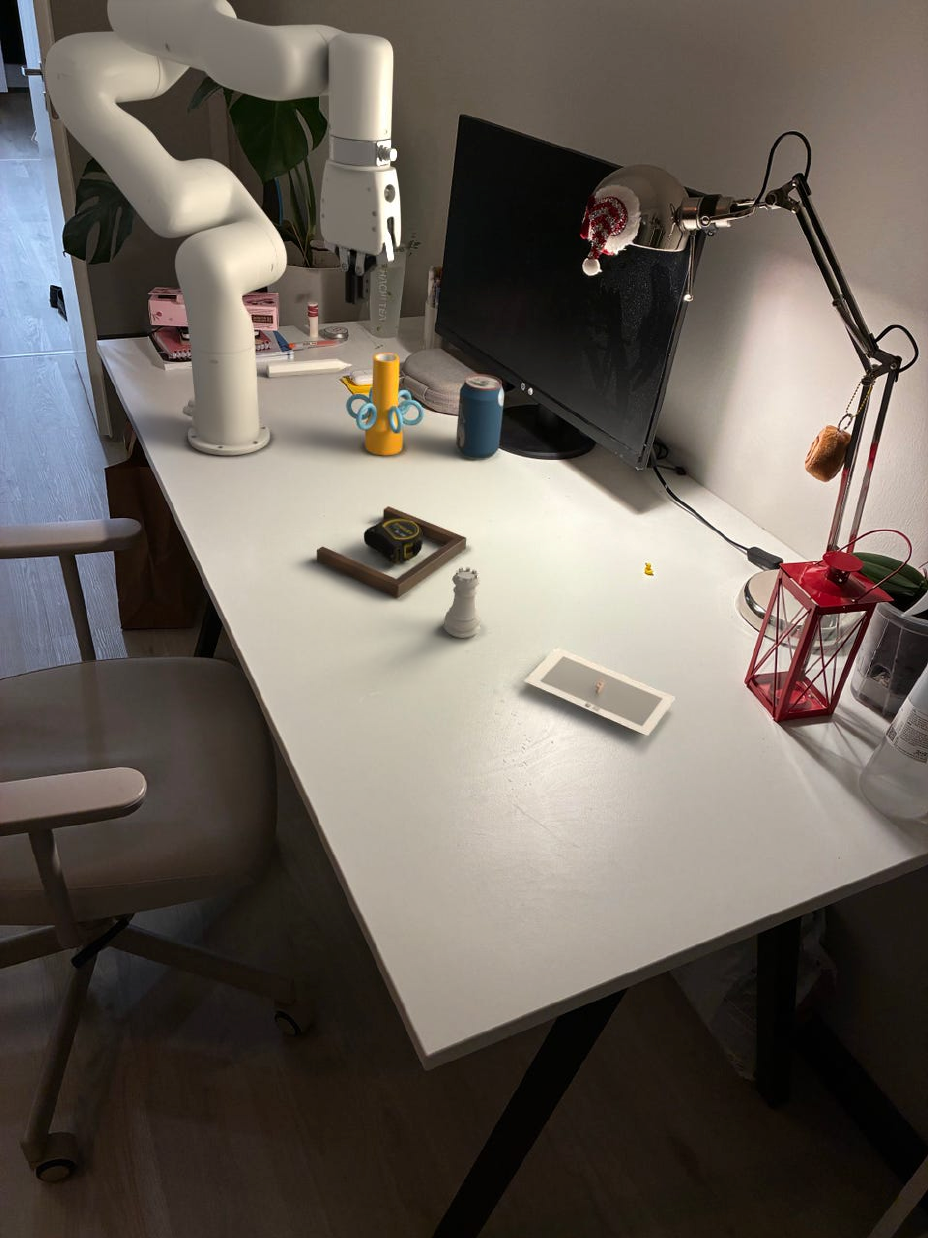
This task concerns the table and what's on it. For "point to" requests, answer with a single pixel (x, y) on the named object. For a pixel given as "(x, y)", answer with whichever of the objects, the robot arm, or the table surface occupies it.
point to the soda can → (479, 416)
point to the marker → (305, 367)
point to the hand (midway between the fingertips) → (357, 301)
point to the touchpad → (601, 690)
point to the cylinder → (384, 408)
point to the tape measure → (395, 539)
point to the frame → (410, 578)
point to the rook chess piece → (463, 605)
